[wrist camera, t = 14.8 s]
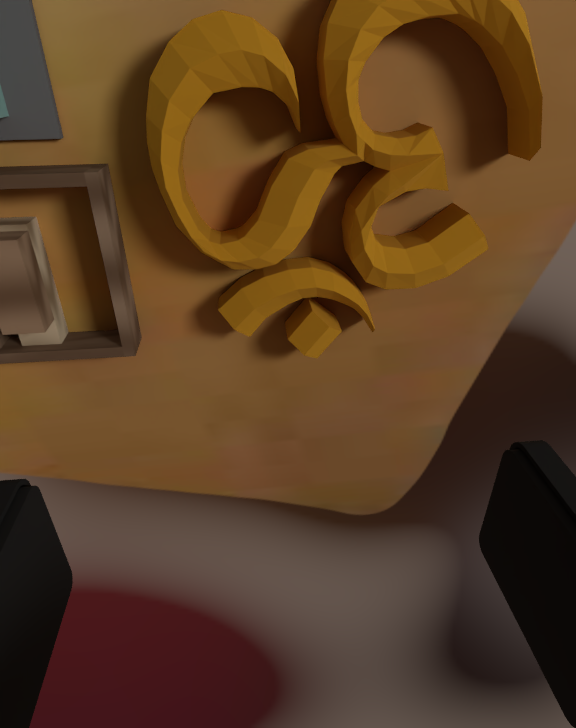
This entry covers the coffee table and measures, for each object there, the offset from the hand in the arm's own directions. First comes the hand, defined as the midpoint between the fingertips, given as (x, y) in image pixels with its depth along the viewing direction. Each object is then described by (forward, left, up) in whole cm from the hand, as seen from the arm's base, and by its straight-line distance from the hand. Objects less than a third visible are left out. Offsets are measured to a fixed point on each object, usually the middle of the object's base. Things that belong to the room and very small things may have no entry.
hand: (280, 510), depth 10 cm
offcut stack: (+8, -19, -37) cm, 42 cm away
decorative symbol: (+1, +8, -37) cm, 38 cm away
